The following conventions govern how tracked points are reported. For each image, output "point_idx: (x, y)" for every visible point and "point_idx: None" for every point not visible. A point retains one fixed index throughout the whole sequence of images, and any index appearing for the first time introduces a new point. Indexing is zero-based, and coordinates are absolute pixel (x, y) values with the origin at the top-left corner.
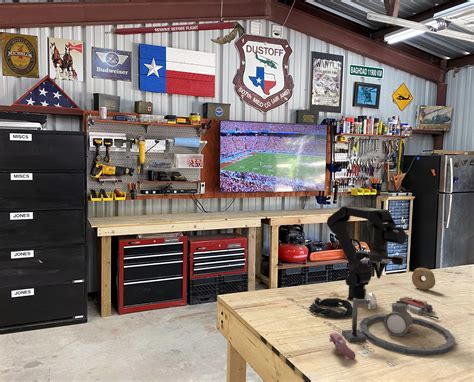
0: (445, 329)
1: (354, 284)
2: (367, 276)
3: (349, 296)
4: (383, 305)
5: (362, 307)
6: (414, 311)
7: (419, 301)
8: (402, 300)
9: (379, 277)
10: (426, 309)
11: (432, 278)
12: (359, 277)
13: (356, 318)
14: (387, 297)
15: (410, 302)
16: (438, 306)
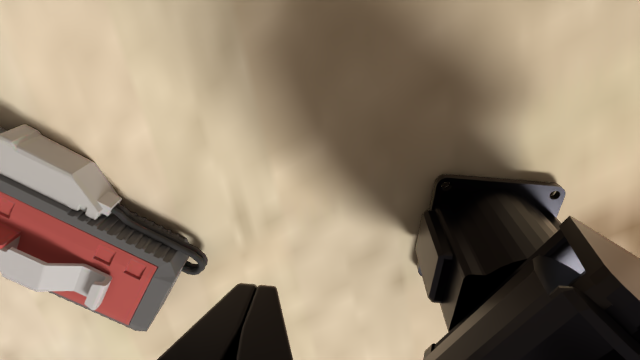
0: None
1: (590, 235)
2: None
3: (549, 217)
4: (277, 189)
5: (421, 58)
6: (47, 145)
7: (4, 241)
8: (149, 259)
9: (230, 293)
10: None
11: None
12: (590, 302)
13: None
14: (288, 337)
15: (83, 236)
16: (8, 316)
